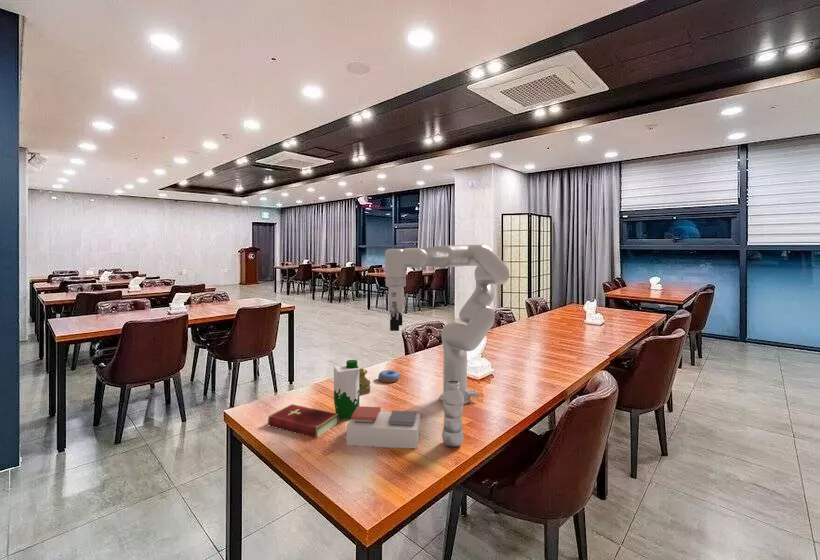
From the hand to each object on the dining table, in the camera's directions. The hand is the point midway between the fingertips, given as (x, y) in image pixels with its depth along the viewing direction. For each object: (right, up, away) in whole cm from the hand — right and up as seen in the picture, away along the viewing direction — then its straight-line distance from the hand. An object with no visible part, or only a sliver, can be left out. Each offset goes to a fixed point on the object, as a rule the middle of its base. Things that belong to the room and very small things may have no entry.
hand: (396, 327), depth 143 cm
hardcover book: (-32, -34, -9) cm, 47 cm away
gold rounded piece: (-16, -31, +23) cm, 42 cm away
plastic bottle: (+18, -34, -22) cm, 45 cm away
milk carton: (-18, -32, 0) cm, 37 cm away
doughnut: (-5, -30, +38) cm, 49 cm away
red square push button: (-9, -32, -18) cm, 37 cm away
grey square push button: (+3, -33, -19) cm, 38 cm away
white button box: (-3, -33, -18) cm, 38 cm away
